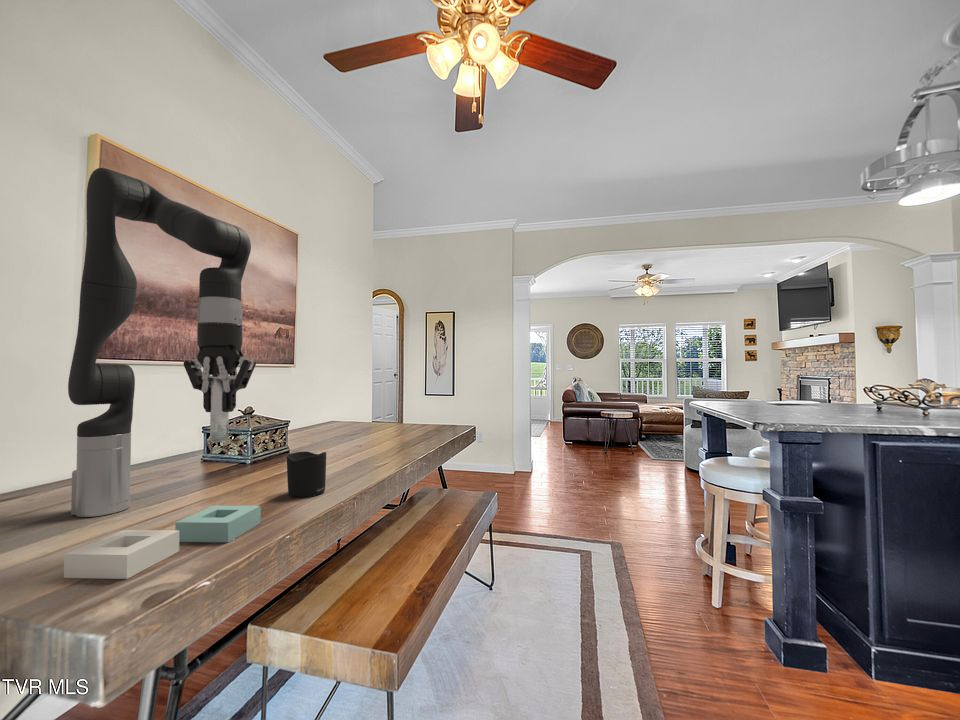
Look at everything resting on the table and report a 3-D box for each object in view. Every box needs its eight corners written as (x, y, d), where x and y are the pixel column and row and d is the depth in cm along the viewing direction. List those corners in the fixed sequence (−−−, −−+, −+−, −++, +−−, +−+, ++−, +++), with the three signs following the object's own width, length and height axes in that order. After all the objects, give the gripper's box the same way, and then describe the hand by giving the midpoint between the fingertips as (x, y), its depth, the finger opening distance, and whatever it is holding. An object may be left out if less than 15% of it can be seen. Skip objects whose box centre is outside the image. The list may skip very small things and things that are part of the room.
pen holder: (291, 501, 102) (291, 459, 102) (282, 492, 109) (282, 453, 110) (331, 494, 107) (331, 454, 108) (320, 486, 115) (320, 449, 115)
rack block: (175, 541, 77) (175, 522, 77) (213, 522, 87) (213, 505, 87) (228, 542, 76) (228, 522, 77) (260, 523, 86) (260, 505, 87)
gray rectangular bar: (206, 442, 81) (206, 378, 81) (217, 439, 84) (217, 378, 84) (221, 442, 81) (221, 378, 81) (231, 439, 84) (232, 378, 84)
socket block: (63, 577, 64) (64, 554, 64) (124, 550, 74) (124, 529, 74) (126, 578, 63) (127, 554, 63) (179, 551, 73) (179, 530, 73)
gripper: (171, 321, 80) (170, 413, 79) (242, 319, 79) (242, 413, 78) (200, 326, 87) (199, 410, 87) (266, 324, 86) (265, 410, 86)
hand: (219, 411), depth 82 cm, fingers closed on gray rectangular bar, 3 cm apart
